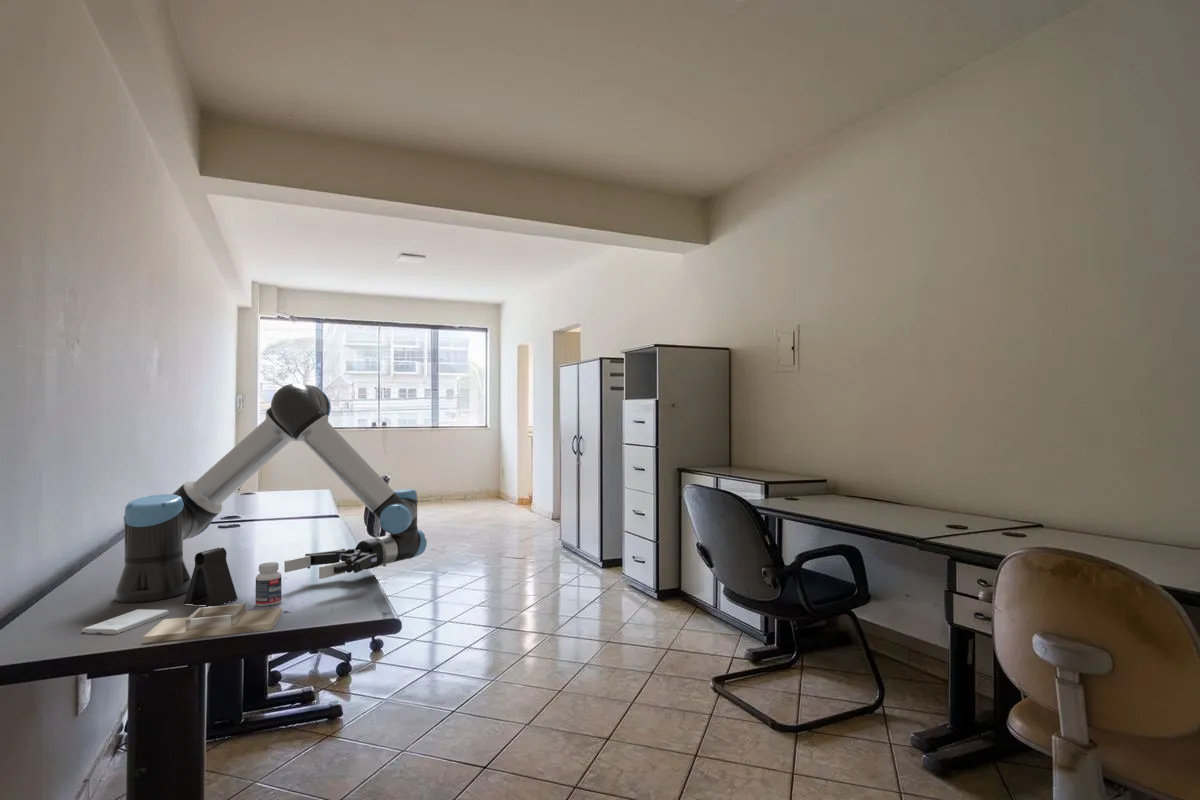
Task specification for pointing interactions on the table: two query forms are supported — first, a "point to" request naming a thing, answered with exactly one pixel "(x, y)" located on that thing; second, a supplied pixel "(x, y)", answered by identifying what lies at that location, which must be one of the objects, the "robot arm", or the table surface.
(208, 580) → the phone stand
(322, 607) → the table surface
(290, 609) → the table surface
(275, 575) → the pill bottle
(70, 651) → the table surface
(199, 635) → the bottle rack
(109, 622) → the external hard drive
